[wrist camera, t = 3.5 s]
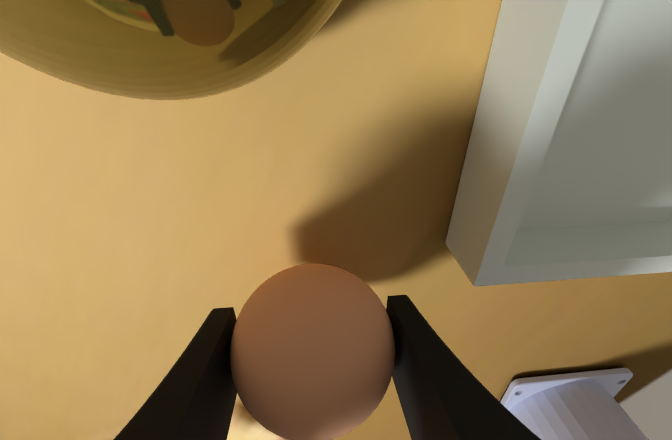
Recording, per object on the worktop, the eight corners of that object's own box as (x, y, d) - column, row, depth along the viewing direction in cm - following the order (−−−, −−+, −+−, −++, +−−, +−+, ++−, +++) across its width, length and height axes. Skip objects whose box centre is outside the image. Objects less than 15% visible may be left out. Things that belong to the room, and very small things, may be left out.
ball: (372, 325, 13) (405, 464, 9) (255, 334, 13) (232, 485, 9) (380, 229, 10) (433, 362, 6) (233, 237, 10) (184, 386, 6)
